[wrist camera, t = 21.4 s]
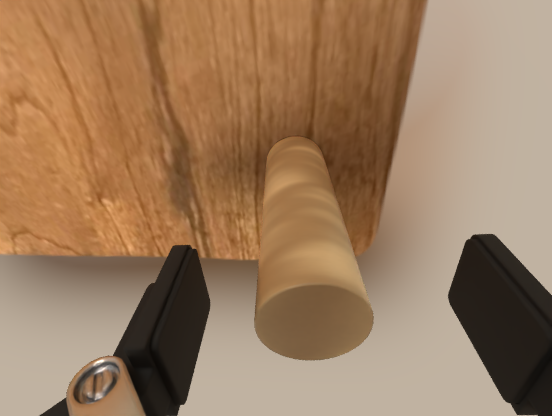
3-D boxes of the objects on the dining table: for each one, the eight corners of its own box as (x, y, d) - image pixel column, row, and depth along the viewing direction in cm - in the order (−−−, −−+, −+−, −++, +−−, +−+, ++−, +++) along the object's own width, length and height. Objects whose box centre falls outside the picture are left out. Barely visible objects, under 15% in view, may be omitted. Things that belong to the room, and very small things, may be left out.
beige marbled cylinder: (324, 133, 18) (380, 281, 8) (323, 186, 20) (368, 359, 10) (264, 137, 19) (247, 286, 8) (268, 190, 20) (259, 363, 10)
